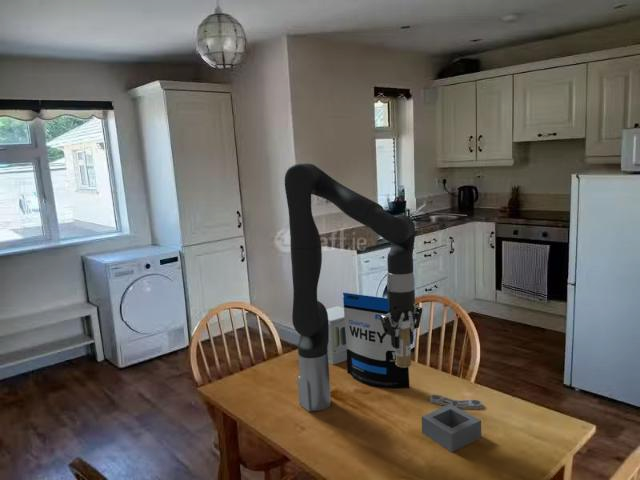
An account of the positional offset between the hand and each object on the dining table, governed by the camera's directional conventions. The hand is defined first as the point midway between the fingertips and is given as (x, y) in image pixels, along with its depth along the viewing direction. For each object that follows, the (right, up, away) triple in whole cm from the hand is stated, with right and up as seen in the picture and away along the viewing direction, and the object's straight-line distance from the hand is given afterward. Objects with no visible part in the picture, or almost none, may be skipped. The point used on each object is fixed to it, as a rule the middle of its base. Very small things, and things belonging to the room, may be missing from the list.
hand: (402, 345), depth 137 cm
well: (+12, -23, -5) cm, 27 cm away
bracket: (+18, -21, +11) cm, 30 cm away
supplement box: (-17, -16, +53) cm, 58 cm away
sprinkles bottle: (0, -6, +1) cm, 6 cm away
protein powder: (-4, -19, +30) cm, 35 cm away
